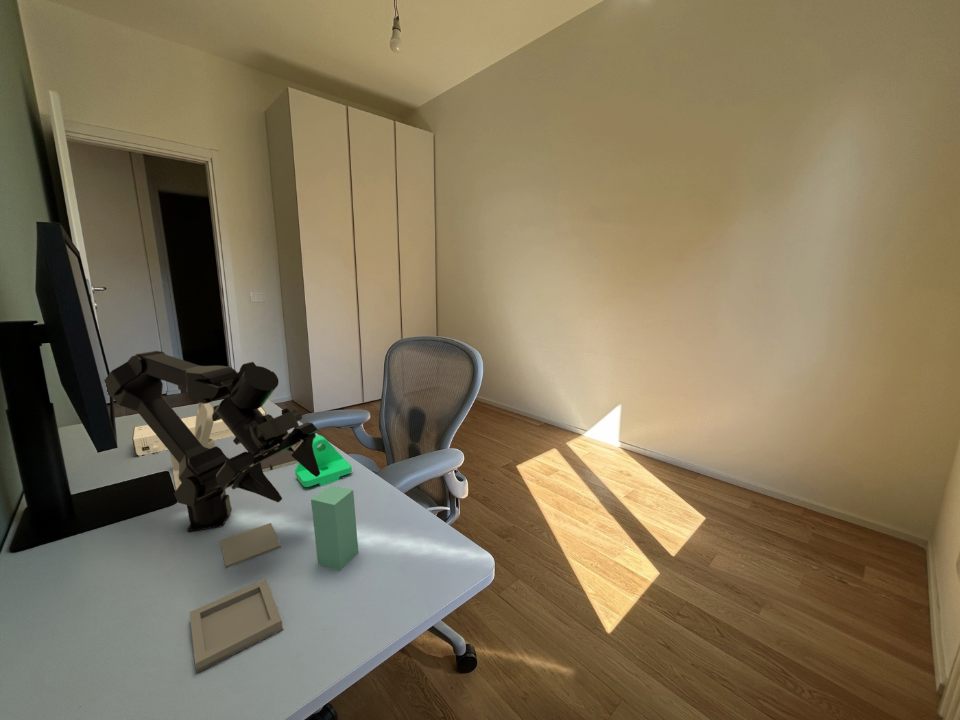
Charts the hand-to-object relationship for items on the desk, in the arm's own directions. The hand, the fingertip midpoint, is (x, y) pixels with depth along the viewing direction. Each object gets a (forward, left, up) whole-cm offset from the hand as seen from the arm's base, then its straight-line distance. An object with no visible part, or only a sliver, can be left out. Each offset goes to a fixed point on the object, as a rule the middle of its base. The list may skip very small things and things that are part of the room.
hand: (300, 487), depth 72 cm
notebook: (-13, +48, -14) cm, 51 cm away
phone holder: (-31, +40, -13) cm, 52 cm away
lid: (-11, +5, -14) cm, 18 cm away
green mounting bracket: (+1, +28, -13) cm, 31 cm away
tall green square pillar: (+6, -4, -13) cm, 15 cm away
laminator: (-37, +67, -14) cm, 78 cm away
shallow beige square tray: (-8, -15, -13) cm, 21 cm away
